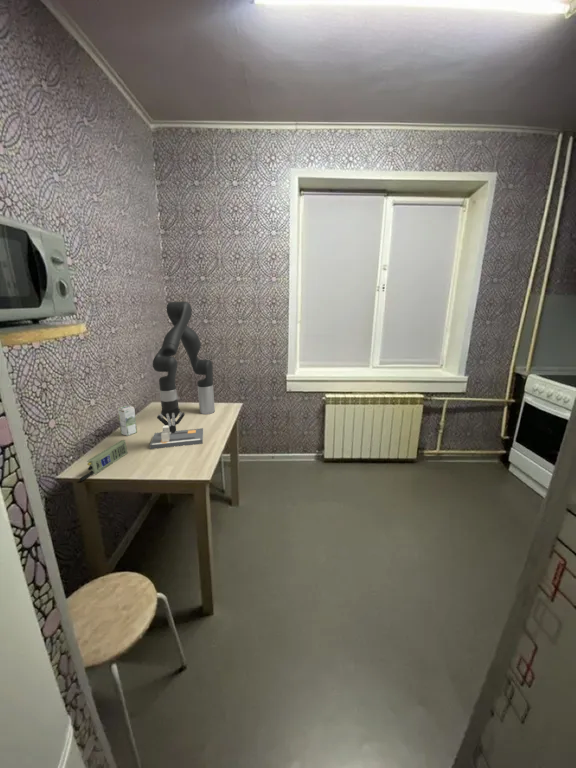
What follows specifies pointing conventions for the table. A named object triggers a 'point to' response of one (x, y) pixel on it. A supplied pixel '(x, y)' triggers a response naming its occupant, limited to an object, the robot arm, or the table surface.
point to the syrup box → (127, 420)
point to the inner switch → (166, 428)
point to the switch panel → (178, 438)
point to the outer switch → (165, 436)
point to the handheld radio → (106, 458)
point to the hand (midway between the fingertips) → (173, 432)
